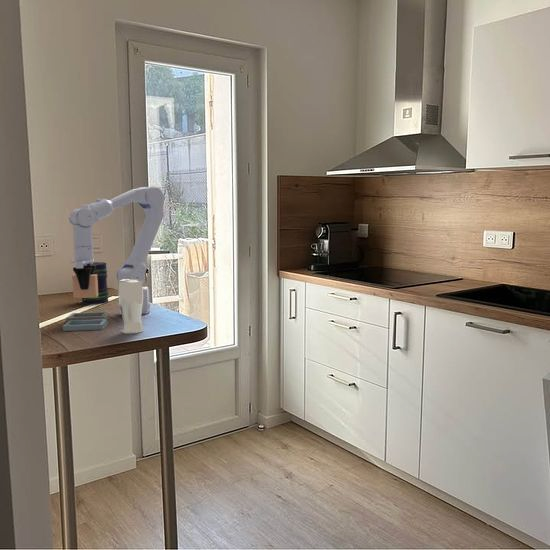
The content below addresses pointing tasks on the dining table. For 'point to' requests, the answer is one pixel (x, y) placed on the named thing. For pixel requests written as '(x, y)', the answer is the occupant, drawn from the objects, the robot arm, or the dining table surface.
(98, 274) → the storage jar
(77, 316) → the grey rectangular open frame
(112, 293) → the dining table surface
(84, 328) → the grey picture frame
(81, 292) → the terracotta block
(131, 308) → the beer glass
